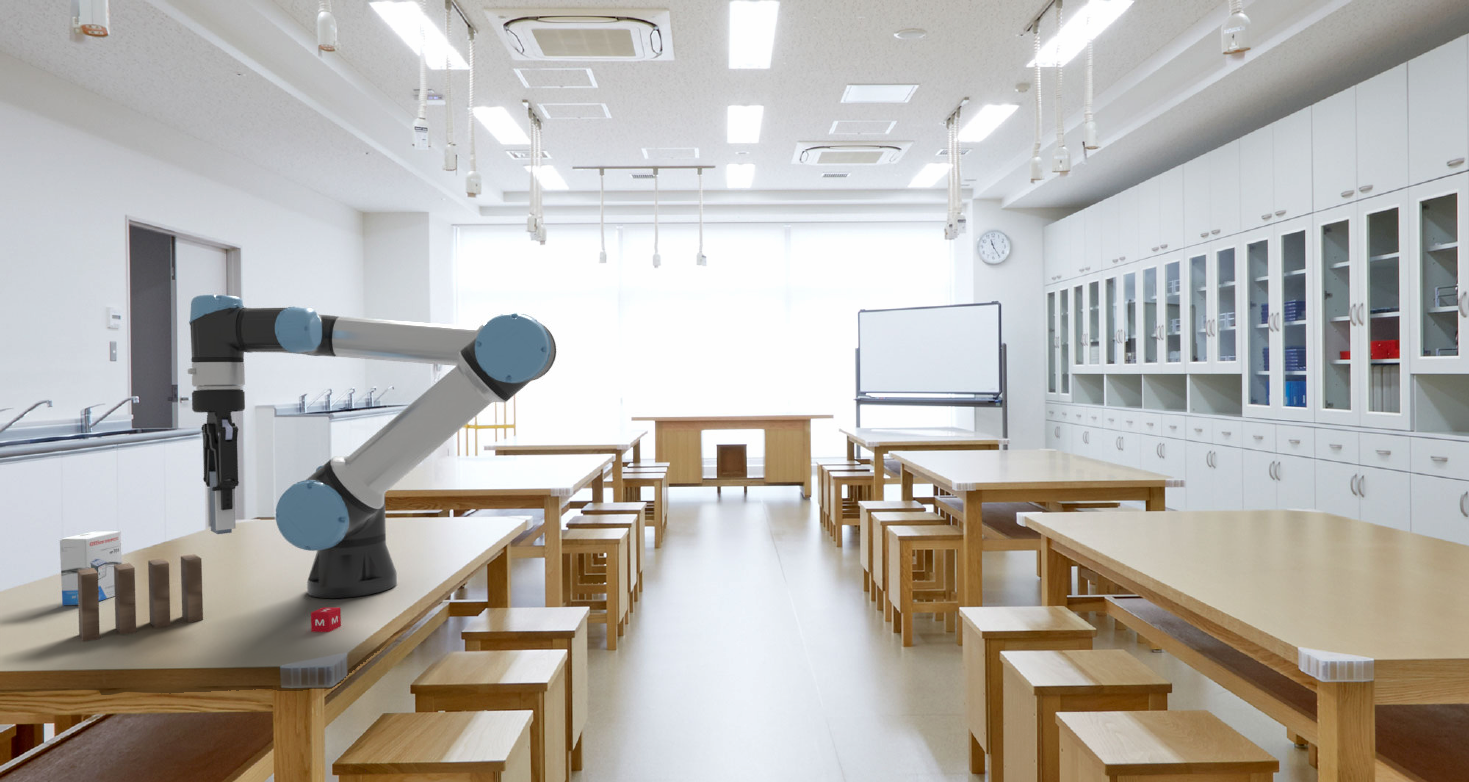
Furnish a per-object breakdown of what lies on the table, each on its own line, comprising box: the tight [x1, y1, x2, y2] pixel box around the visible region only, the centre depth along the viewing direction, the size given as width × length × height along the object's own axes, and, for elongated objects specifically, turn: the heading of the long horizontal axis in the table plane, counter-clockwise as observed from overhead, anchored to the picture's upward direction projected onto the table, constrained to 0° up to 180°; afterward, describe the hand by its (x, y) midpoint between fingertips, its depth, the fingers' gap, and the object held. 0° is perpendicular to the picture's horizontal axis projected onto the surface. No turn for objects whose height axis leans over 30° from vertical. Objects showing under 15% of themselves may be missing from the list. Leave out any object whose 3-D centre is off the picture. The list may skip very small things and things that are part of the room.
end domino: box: [77, 568, 101, 642], centre depth 128 cm, size 2×5×10 cm, turn 43°
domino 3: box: [180, 554, 204, 623], centre depth 137 cm, size 2×5×10 cm, turn 43°
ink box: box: [59, 530, 123, 606], centre depth 151 cm, size 9×5×12 cm, turn 178°
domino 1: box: [114, 562, 137, 635], centre depth 131 cm, size 2×5×10 cm, turn 43°
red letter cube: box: [310, 606, 342, 633], centre depth 130 cm, size 3×3×3 cm
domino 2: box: [147, 558, 171, 629], centre depth 134 cm, size 2×5×10 cm, turn 43°
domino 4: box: [209, 471, 233, 535], centre depth 140 cm, size 2×5×10 cm, turn 43°
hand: (221, 526), depth 140 cm, fingers closed on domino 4, 5 cm apart
